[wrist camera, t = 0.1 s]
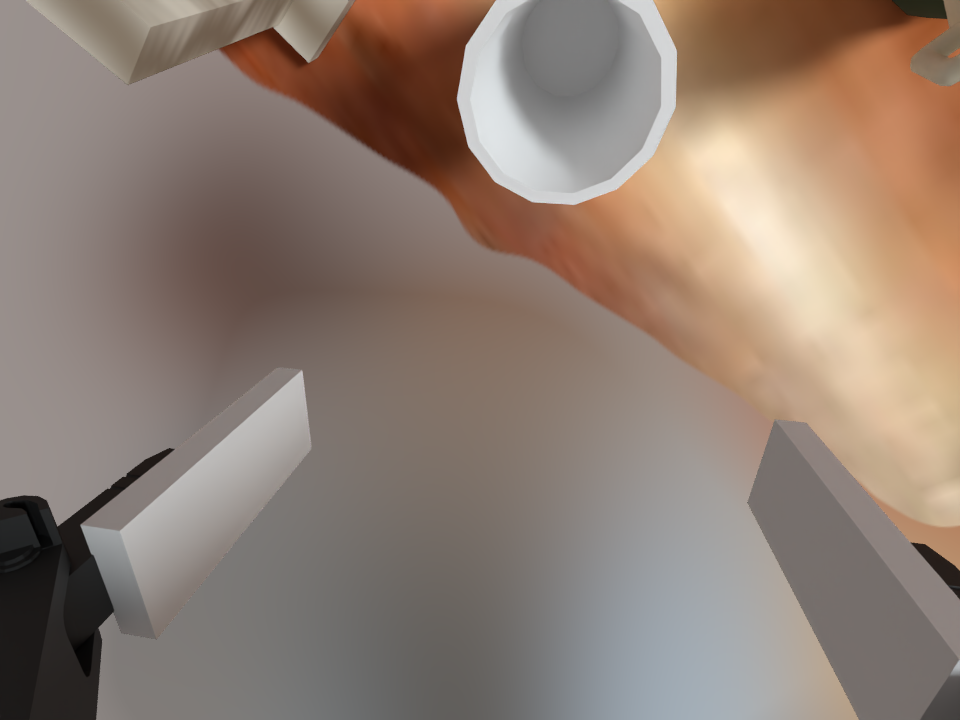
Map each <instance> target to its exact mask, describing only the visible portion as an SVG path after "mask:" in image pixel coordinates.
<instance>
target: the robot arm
mask: <svg viewBox="0 0 960 720" xmlns="http://www.w3.org/2000/svg"><path fill="white" fill-rule="evenodd" d="M310 450H311V439H310V431H309V422H308V414H307V406H306V397H305V389H304V381H303V373H302V370H298V369H289V368H279V367H278V368H276V369H275V370H274V371H273V372H271V373H270V374H269V375H268V376H266V377H265V378H264V379H263V380H261V381H260V382H259V383H258V384H256V385H255V386H254V387H252V388H251V389H250V390H249V391H248V392H246V393H245V394H244V395H242V396H241V397H240V398H239V399H237V400H236V401H235V402H234V403H233V404H231V405H230V406H229V407H227V408H226V409H225V410H224V411H222V412H221V413H220V414H219V415H218V416H216V417H215V418H214V419H213V420H211V421H210V422H209V423H208V424H206V425H205V426H204V427H202V428H201V429H200V430H199V431H197V432H196V433H195V434H194V435H193V436H191V437H190V438H189V439H188V440H186V441H185V442H184V443H182V444H181V445H180V446H179V447H177V448H176V449H171V448H169V449H167V450H164V451H162V452H160V453H158V454H156V455H154V456H152V457H150V458H148V459H146V460H144V461H143V462H142V463H140V464H139V465H138V466H136V467H135V468H134V469H132V470H131V471H130V472H129V473H127V476H126V477H122V478H121V479H119V480H118V481H117V482H115V484H113V485H112V486H111V488H110V489H107V490H105V491H104V492H102V493H101V494H100V495H98V496H97V497H96V498H95V499H93V500H92V501H91V502H89V503H88V504H87V505H85V506H84V507H83V508H82V509H80V510H79V511H78V512H76V513H75V514H74V515H72V516H71V517H70V518H68V519H67V520H66V521H65V522H63V523H62V524H61V525H59V526H58V527H57V525H56V522H55V520H54V517H53V515H52V512H51V510H50V507H49V505H48V503H47V501H46V500H44V499H43V498H41V497H38V496H18V497H12V498H7V499H3V500H1V501H0V720H96V713H97V700H98V686H99V674H100V662H101V660H100V659H101V648H102V638H101V635H100V631H99V629H98V627H99V626H100V625H101V624H102V623H103V622H104V621H105V620H106V619H107V618H108V617H109V616H110V615H111V614H112V613H114V615H115V618H116V621H117V623H118V626H119V629H120V631H121V633H124V634H129V635H135V636H140V637H146V638H151V639H157V638H158V637H159V636H160V634H161V633H162V632H163V631H164V629H165V628H166V627H167V626H168V625H169V623H170V622H171V621H172V619H173V618H174V617H175V616H176V615H177V614H178V612H179V611H180V610H181V609H182V607H183V606H184V605H185V604H186V602H187V601H188V600H189V599H190V598H191V596H192V595H193V594H194V593H195V591H196V590H197V589H198V588H199V586H200V585H201V584H202V583H203V581H204V580H205V579H206V578H207V577H208V575H209V574H210V573H211V572H212V570H213V569H214V568H215V567H216V565H217V564H218V563H219V562H220V560H221V559H222V558H223V557H224V556H225V554H226V553H227V552H228V551H229V550H230V548H231V547H232V546H233V545H234V543H235V542H236V541H237V540H238V538H239V537H240V536H241V535H242V534H243V532H244V531H245V530H246V529H247V527H248V526H249V525H250V524H251V522H252V521H253V520H254V519H255V517H256V516H257V515H258V514H259V513H260V511H261V510H262V509H263V508H264V506H265V505H266V504H267V503H268V501H269V500H270V499H271V498H272V497H273V495H274V494H275V493H276V492H277V490H278V489H279V488H280V487H281V485H282V484H283V483H284V482H285V481H286V479H287V478H288V477H289V476H290V474H291V473H292V472H293V471H294V469H295V468H296V467H297V466H298V464H299V463H300V462H301V461H302V459H303V458H304V457H305V456H306V455H307V453H308V452H309V451H310ZM747 503H748V505H749V507H750V508H751V511H752V513H753V515H754V516H755V518H756V520H757V522H758V524H759V526H760V528H761V530H762V532H763V534H764V536H765V538H766V540H767V542H768V543H769V546H770V548H771V549H772V551H773V553H774V555H775V557H776V559H777V561H778V563H779V565H780V567H781V569H782V571H783V573H784V575H785V577H786V579H787V581H788V582H789V584H790V586H791V588H792V590H793V592H794V594H795V596H796V598H797V600H798V602H799V604H800V606H801V608H802V609H803V611H804V614H805V616H806V617H807V619H808V621H809V623H810V625H811V627H812V629H813V631H814V633H815V635H816V637H817V639H818V641H819V643H820V644H821V646H822V649H823V650H824V652H825V654H826V656H827V658H828V660H829V662H830V664H831V666H832V668H833V670H834V672H835V674H836V676H837V677H838V680H839V682H840V683H841V685H842V687H843V689H844V691H845V693H846V695H847V697H848V699H849V701H850V703H851V705H852V707H853V709H854V711H855V712H856V715H857V717H858V718H859V720H960V571H959V570H958V569H957V568H956V566H954V565H953V564H952V563H950V562H949V561H947V560H946V559H945V558H943V557H942V556H941V555H939V554H938V553H936V552H935V551H934V550H932V549H931V548H930V547H928V546H927V545H925V544H918V543H911V542H909V541H908V539H907V538H906V537H905V536H904V535H903V534H902V532H901V531H900V530H899V529H898V528H897V527H896V526H895V524H894V523H893V522H892V521H891V520H890V519H889V518H888V516H887V515H886V514H885V513H884V512H883V511H882V509H881V508H880V507H879V506H878V505H877V504H876V503H875V501H874V500H873V499H872V498H871V497H870V496H869V495H868V493H867V492H866V491H865V490H864V489H863V488H862V486H861V485H860V484H859V483H858V482H857V481H856V480H855V478H854V477H853V476H852V475H851V474H850V473H849V472H848V470H847V469H846V468H845V467H844V466H843V465H842V463H841V462H840V461H839V460H838V459H837V458H836V457H835V455H834V454H833V453H832V452H831V451H830V450H829V449H828V447H827V446H826V445H825V444H824V443H823V442H822V440H821V439H820V438H819V437H818V436H817V435H816V434H815V432H814V431H813V430H812V429H811V428H810V427H809V426H808V424H807V423H804V422H795V421H785V420H776V419H775V421H774V424H773V427H772V430H771V433H770V436H769V439H768V442H767V445H766V448H765V451H764V454H763V457H762V460H761V463H760V466H759V469H758V472H757V475H756V478H755V481H754V484H753V488H752V490H751V493H750V496H749V500H748V502H747Z"/></svg>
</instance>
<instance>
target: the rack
mask: <svg viewBox="0 0 960 720" xmlns="http://www.w3.org/2000/svg"><path fill="white" fill-rule="evenodd" d="M25 1H27V2H28V3H29V4H30V5H31V6H33V7H34V8H35V9H36V10H37V11H39V12H40V13H41V14H42V15H44V16H45V17H46V18H47V19H48V20H49V21H51V22H52V23H53V24H54V25H55V26H57V27H58V28H59V29H60V30H62V31H63V32H64V33H65V34H66V35H68V36H69V37H70V38H71V39H72V40H74V41H75V42H76V43H77V44H78V45H80V46H81V47H82V48H83V49H84V50H86V51H87V52H88V53H89V54H90V55H92V56H93V57H94V58H95V59H96V60H98V61H99V62H100V63H101V64H102V65H104V66H105V67H106V68H107V69H109V70H110V71H111V72H112V73H113V74H115V75H116V76H117V77H118V78H119V79H121V80H122V81H123V82H124V83H126V84H127V85H129V84H132V83H134V82H137V81H139V80H142V79H144V78H146V77H149V76H152V75H154V74H157V73H159V72H162V71H164V70H167V69H169V68H172V67H174V66H177V65H179V64H182V63H184V62H186V61H189V60H191V59H194V58H196V57H199V56H202V55H204V54H207V53H209V52H211V51H214V50H217V49H219V48H222V47H224V46H227V45H229V44H232V43H234V42H237V41H239V40H242V39H244V38H247V37H249V36H252V35H254V34H256V33H259V32H261V31H264V30H266V29H269V28H271V27H273V28H274V29H275V30H276V31H277V32H278V33H279V34H280V35H281V36H282V37H283V38H284V39H285V40H286V41H287V42H288V43H289V44H290V45H291V46H292V47H293V48H294V49H295V50H296V51H297V52H298V53H299V54H300V55H301V56H302V57H303V58H304V59H305V60H306V61H307V62H308V63H310V62H311V61H313V60H315V59H316V58H318V56H319V55H320V53H321V52H322V50H323V49H324V47H325V46H326V44H327V43H328V41H329V40H330V38H331V37H332V35H333V34H334V32H335V31H336V29H337V28H338V26H339V24H340V23H341V21H342V20H343V18H344V17H345V15H346V14H347V12H348V11H349V9H350V8H351V6H352V5H353V3H354V2H355V0H25Z"/></svg>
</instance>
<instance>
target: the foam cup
mask: <svg viewBox="0 0 960 720" xmlns="http://www.w3.org/2000/svg"><path fill="white" fill-rule="evenodd" d="M676 75H677V50H676V48H675V45H674V43H673V41H672V39H671V37H670V35H669V33H668V31H667V29H666V27H665V24H664V22H663V20H662V18H661V16H660V14H659V12H658V10H657V8H656V6H655V3H654V1H653V0H496V1H495V3H494V4H493V6H492V7H491V9H490V10H489V12H488V13H487V15H486V16H485V18H484V19H483V21H482V22H481V24H480V25H479V27H478V28H477V30H476V31H475V33H474V34H473V36H472V37H471V39H470V40H469V42H468V43H467V45H466V48H465V54H464V60H463V66H462V72H461V78H460V84H459V89H458V95H457V102H458V106H459V110H460V114H461V118H462V123H463V127H464V131H465V135H466V139H467V144H468V147H469V148H470V150H471V151H472V152H473V154H474V155H475V156H476V158H477V159H478V160H479V161H480V163H481V164H482V165H483V167H484V168H485V169H486V171H487V172H488V173H489V175H490V176H491V177H492V179H493V180H494V181H495V182H496V183H498V184H500V185H501V186H503V187H505V188H507V189H509V190H511V191H513V192H514V193H516V194H518V195H520V196H522V197H524V198H526V199H528V200H529V201H531V202H539V203H555V204H571V205H575V204H578V203H581V202H584V201H586V200H589V199H592V198H594V197H597V196H600V195H603V194H605V193H608V192H611V191H613V190H616V189H618V188H619V187H620V186H621V185H622V184H623V183H624V182H625V181H626V180H628V179H629V178H630V177H631V176H632V175H633V174H634V173H635V172H636V171H637V170H638V169H639V168H640V167H642V166H643V165H644V164H645V163H646V162H647V161H648V160H649V159H650V158H651V157H652V156H653V155H654V153H655V151H656V149H657V146H658V144H659V142H660V140H661V138H662V136H663V134H664V131H665V129H666V127H667V125H668V123H669V121H670V118H671V116H672V114H673V112H674V110H675V108H676Z"/></svg>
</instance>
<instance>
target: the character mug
mask: <svg viewBox="0 0 960 720" xmlns="http://www.w3.org/2000/svg"><path fill="white" fill-rule="evenodd" d="M892 1H893V2H894V3H895V4H896V5H897V6H898V7H900V8H901V9H902V10H903V11H904V12H905V13H906V14H907V15H911V16H919V17H926V18H940V19H948V23H949V29H948V30H946V31H945V32H944V33H942V34H941V35H940V36H938V37H937V38H935V39H934V40H933V41H931V42H930V43H929V44H927V45H926V46H925V47H923V48H922V49H920V50H919V51H918V52H917V53H916V54H915V55H914V56H913V57H912V58H911V64H910V67H911V71H912V72H914V73H916V74H918V75H920V76H922V77H924V78H926V79H928V80H930V81H932V82H934V83H936V84H938V85H940V86H951V85H953V84H955V83H957V82H959V81H960V54H958V55H957V56H955V57H953V58H948V57H947V56H948V55H950V54H951V53H953V52H954V51H956V50H957V49H958V48H960V0H892Z"/></svg>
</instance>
